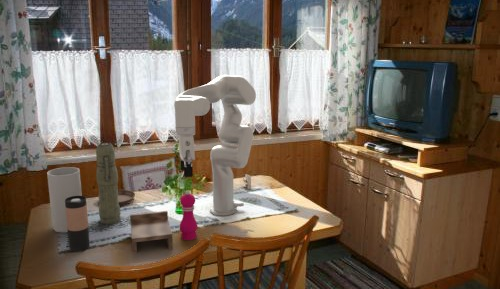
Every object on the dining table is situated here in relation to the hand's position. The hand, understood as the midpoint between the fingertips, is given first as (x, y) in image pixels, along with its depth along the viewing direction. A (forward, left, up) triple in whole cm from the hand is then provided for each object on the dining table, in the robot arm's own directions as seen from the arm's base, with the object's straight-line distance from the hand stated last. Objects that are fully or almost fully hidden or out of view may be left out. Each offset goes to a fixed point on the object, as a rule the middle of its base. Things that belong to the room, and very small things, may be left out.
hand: (186, 173), depth 176 cm
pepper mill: (0, 0, -28) cm, 28 cm away
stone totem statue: (+31, -27, -28) cm, 49 cm away
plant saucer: (+28, -52, -28) cm, 65 cm away
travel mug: (+42, -2, -28) cm, 50 cm away
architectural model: (-40, -54, -28) cm, 73 cm away
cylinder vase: (+48, -24, -28) cm, 60 cm away
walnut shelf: (+15, 0, -27) cm, 31 cm away
